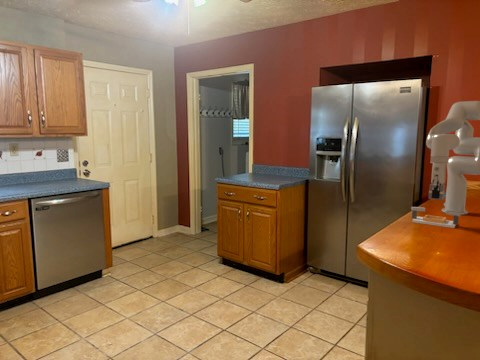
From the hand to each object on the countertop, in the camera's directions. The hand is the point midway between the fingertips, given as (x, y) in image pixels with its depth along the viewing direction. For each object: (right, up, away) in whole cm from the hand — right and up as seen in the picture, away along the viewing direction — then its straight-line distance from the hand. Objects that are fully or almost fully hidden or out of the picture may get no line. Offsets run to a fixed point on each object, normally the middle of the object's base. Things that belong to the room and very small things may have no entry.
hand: (436, 197), depth 173 cm
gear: (+35, -8, +47) cm, 59 cm away
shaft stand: (0, -13, +2) cm, 13 cm away
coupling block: (0, -1, 0) cm, 1 cm away
